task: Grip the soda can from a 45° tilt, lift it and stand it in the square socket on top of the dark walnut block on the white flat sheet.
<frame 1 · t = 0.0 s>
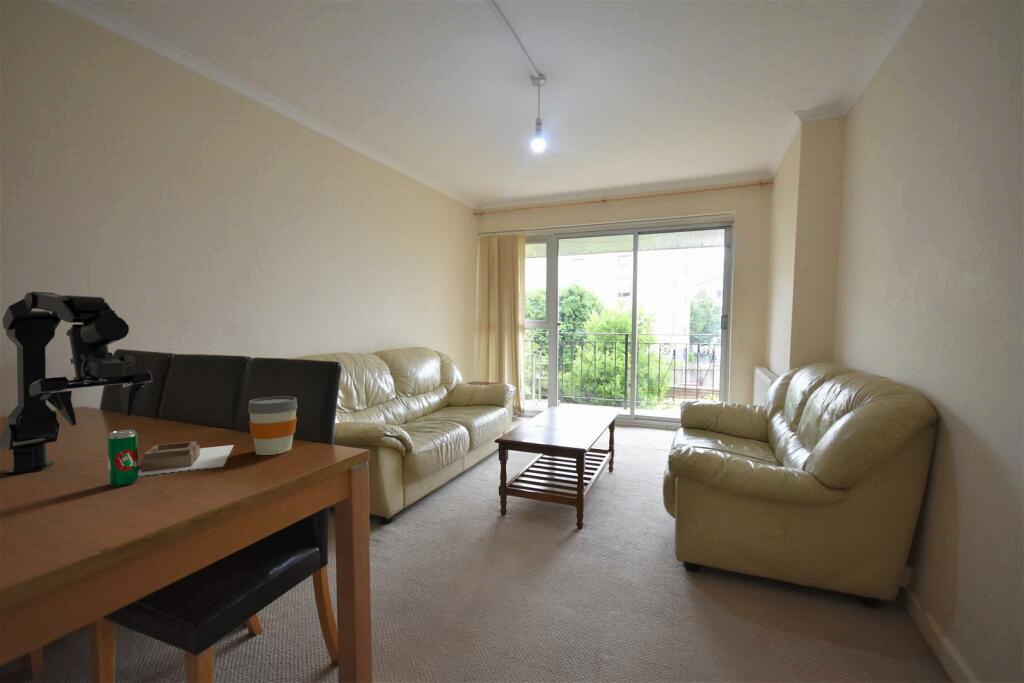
hand: (102, 421, 92), 15 cm above the table, tool pointing down, fingers open, 9 cm apart
white flat sheet: (189, 460, 114), on the table
socket block: (172, 465, 110), resting on white flat sheet
soda can: (124, 484, 97), on the table
reusable coffee cup: (274, 452, 123), on the table
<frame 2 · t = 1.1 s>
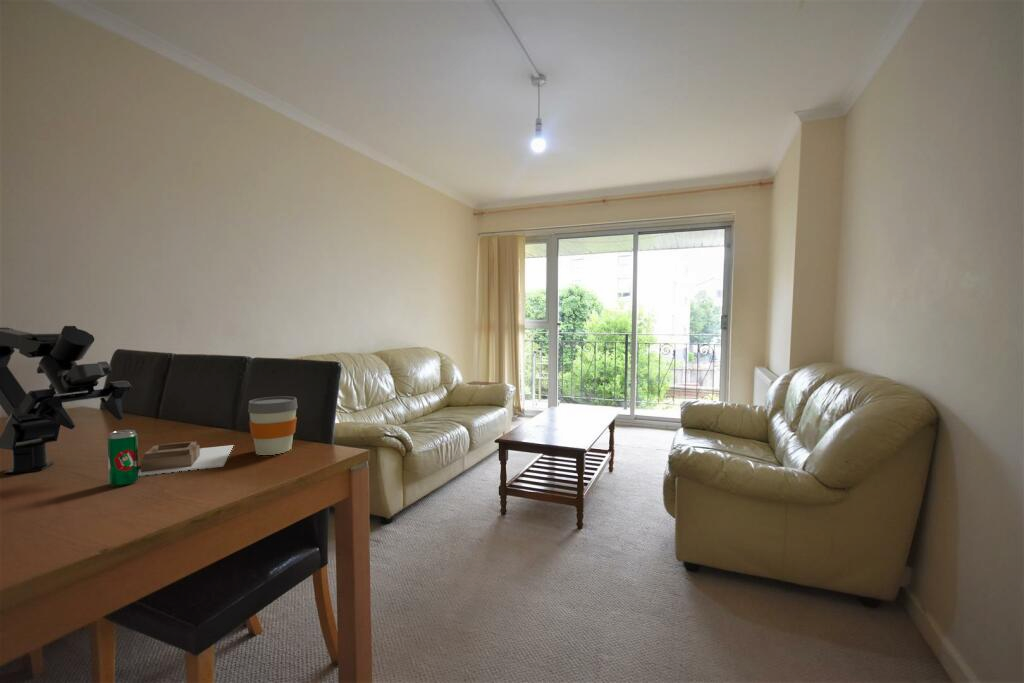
hand: (98, 423, 99), 13 cm above the table, tool tilted 45°, fingers open, 9 cm apart
nothing on the table moved.
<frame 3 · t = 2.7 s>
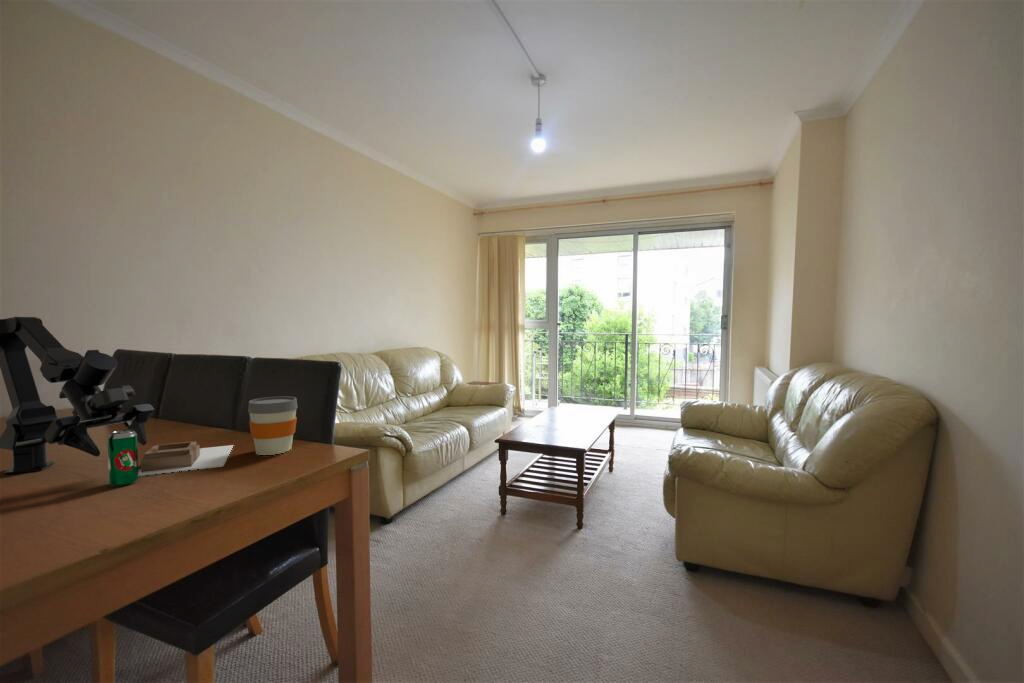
hand: (122, 449, 97), 8 cm above the table, tool tilted 45°, fingers open, 9 cm apart
nothing on the table moved.
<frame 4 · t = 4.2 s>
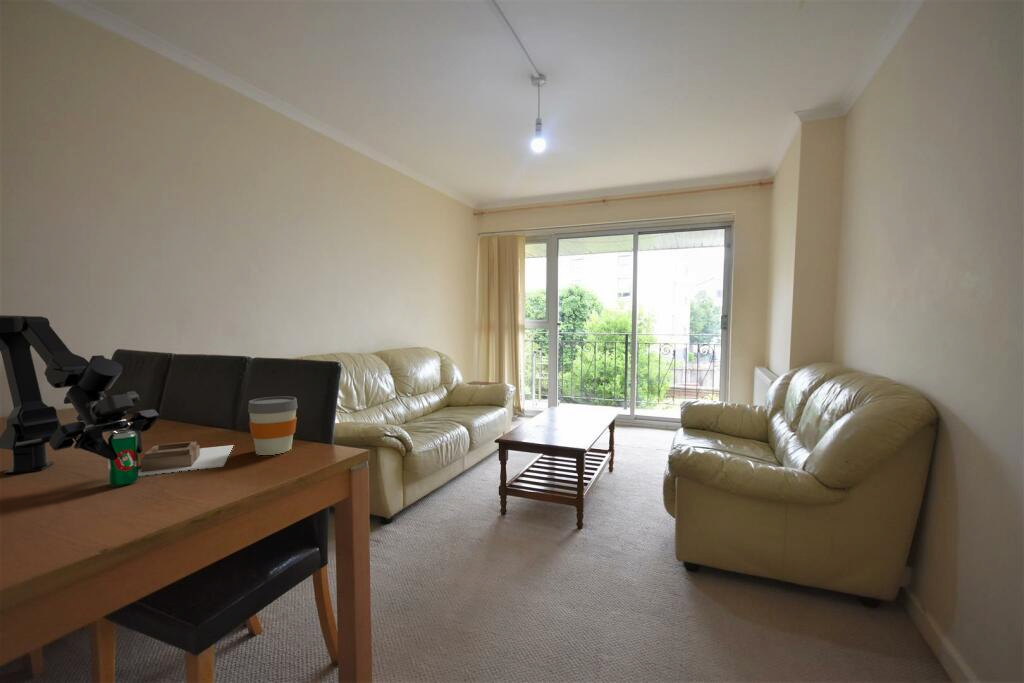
hand: (127, 455, 97), 7 cm above the table, tool tilted 45°, fingers closed on soda can, 5 cm apart
soda can: (124, 484, 97), on the table, touching gripper
everything else where it was.
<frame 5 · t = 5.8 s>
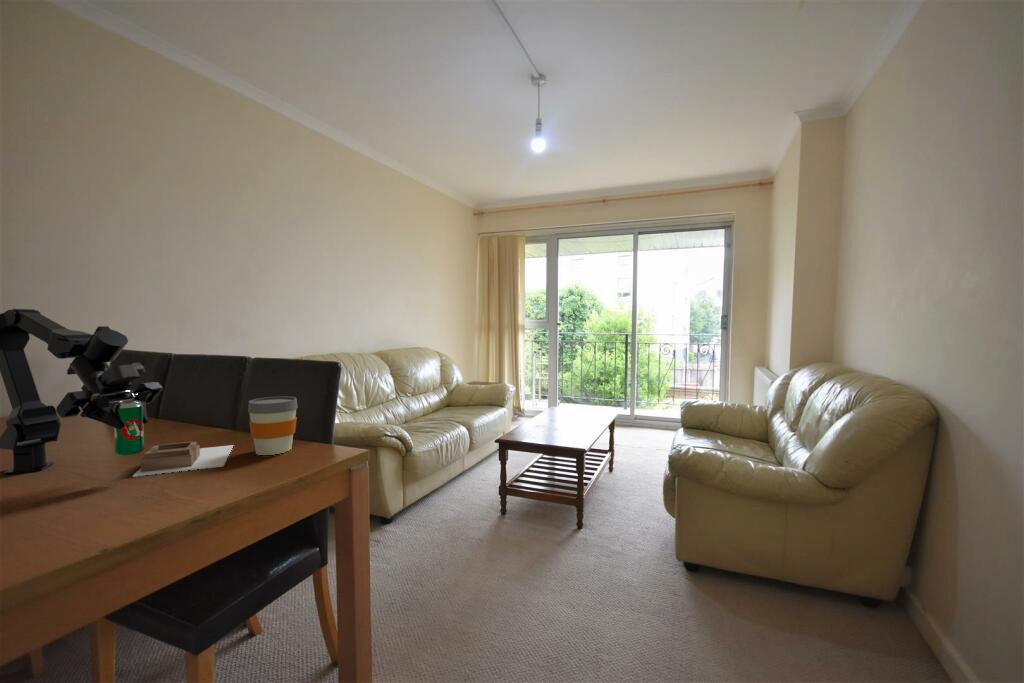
hand: (133, 425, 98), 13 cm above the table, tool tilted 45°, fingers closed on soda can, 5 cm apart
soda can: (129, 453, 99), point 6 cm above the table, touching gripper
everything else where it was.
when the fingers open (12 cm above the table, at t = 7.7 s): soda can drops 1 cm, resting on socket block.
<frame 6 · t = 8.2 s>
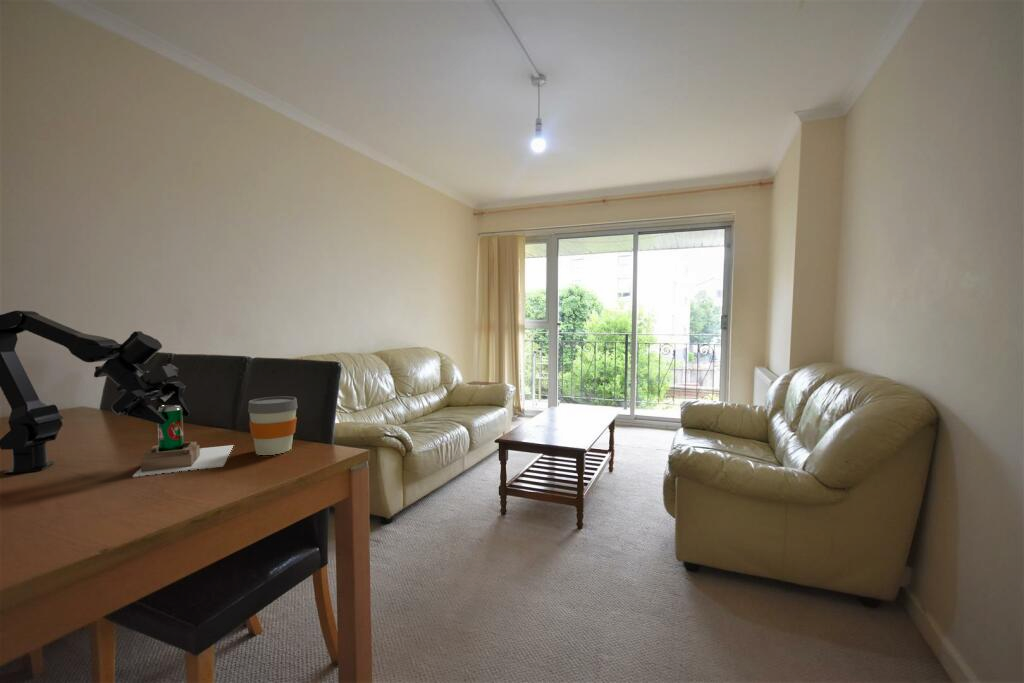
hand: (176, 419, 110), 12 cm above the table, tool tilted 45°, fingers open, 9 cm apart
soda can: (171, 452, 110), point 3 cm above the table, touching socket block
everything else where it was.
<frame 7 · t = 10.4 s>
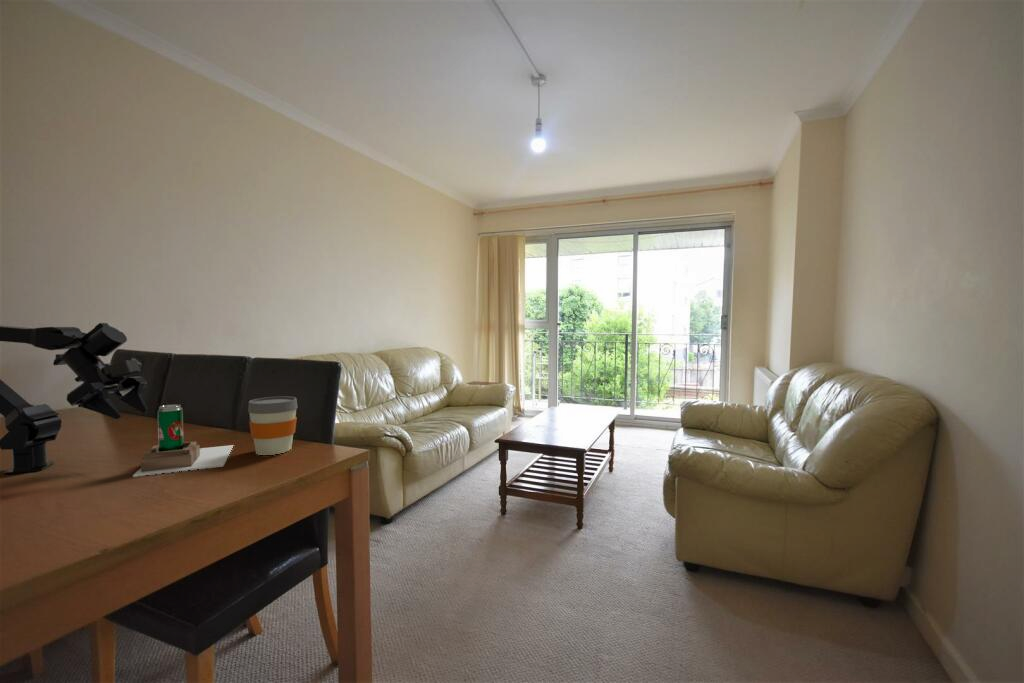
hand: (133, 414, 109), 13 cm above the table, tool tilted 40°, fingers open, 9 cm apart
nothing on the table moved.
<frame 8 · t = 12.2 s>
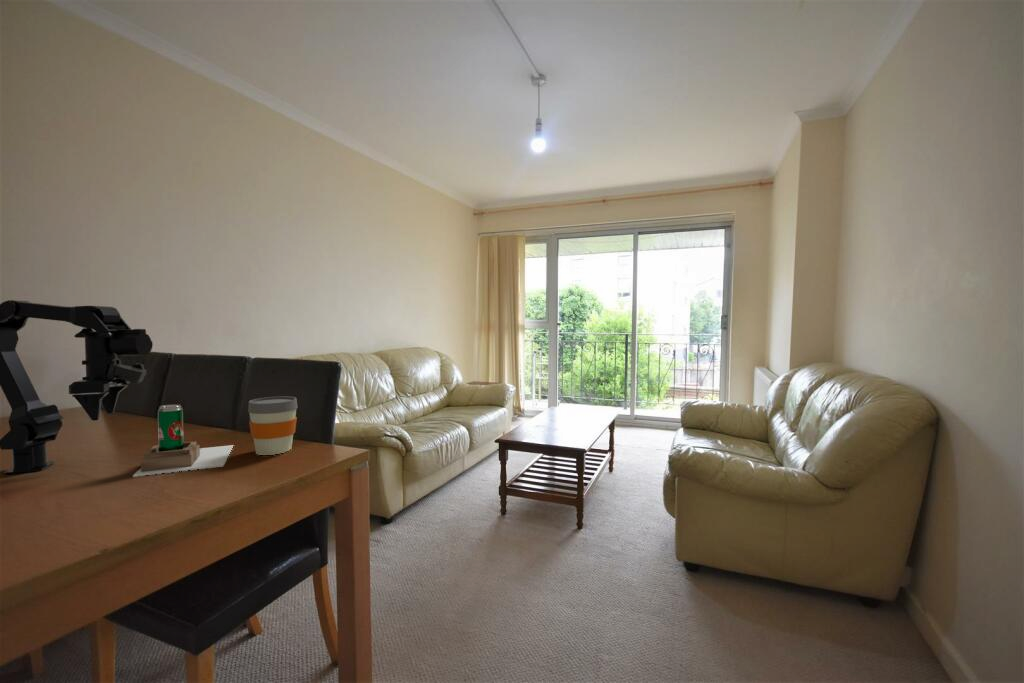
hand: (103, 416, 108), 13 cm above the table, tool pointing down, fingers open, 9 cm apart
nothing on the table moved.
at the end: soda can 0.1 cm off-centre on the socket block, point 3.3 cm above the socket block's base; soda can tilted 0°; the gripper is holding nothing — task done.
